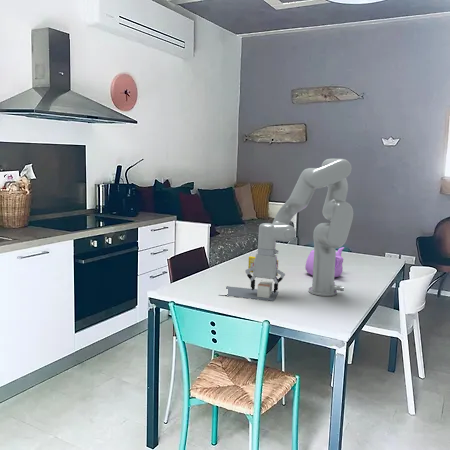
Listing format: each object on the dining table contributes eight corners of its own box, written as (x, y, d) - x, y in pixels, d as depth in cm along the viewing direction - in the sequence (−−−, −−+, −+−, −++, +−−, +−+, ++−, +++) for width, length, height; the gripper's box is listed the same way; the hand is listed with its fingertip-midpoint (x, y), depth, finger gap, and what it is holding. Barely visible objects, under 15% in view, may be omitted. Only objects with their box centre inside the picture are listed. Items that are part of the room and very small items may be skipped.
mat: (278, 292, 207) (278, 291, 207) (273, 301, 194) (273, 300, 194) (226, 287, 213) (226, 286, 213) (218, 295, 200) (218, 294, 200)
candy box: (247, 272, 244) (248, 256, 243) (249, 271, 246) (250, 255, 245) (276, 276, 236) (277, 260, 235) (278, 275, 238) (278, 259, 237)
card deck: (272, 292, 205) (272, 281, 205) (268, 298, 197) (269, 286, 196) (260, 291, 207) (261, 280, 206) (257, 296, 198) (257, 285, 197)
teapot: (329, 283, 226) (331, 253, 224) (300, 273, 243) (301, 245, 241) (360, 277, 238) (363, 249, 236) (330, 269, 256) (332, 242, 253)
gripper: (287, 252, 200) (284, 290, 203) (248, 248, 205) (246, 286, 207) (285, 255, 193) (282, 295, 195) (244, 251, 198) (242, 290, 200)
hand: (264, 290), depth 201 cm, fingers open, 9 cm apart
